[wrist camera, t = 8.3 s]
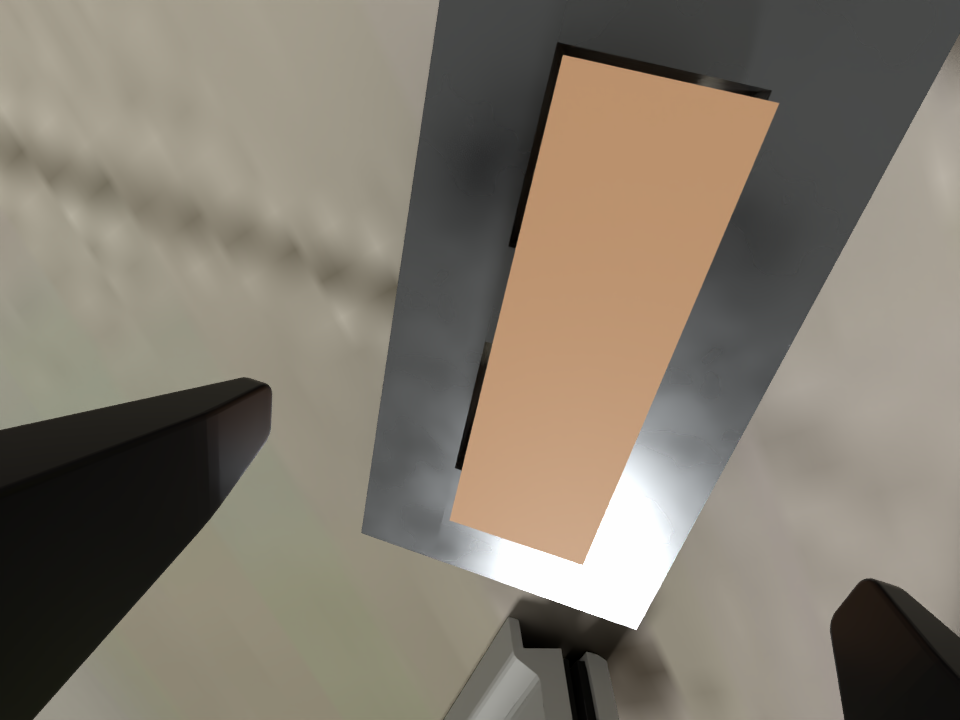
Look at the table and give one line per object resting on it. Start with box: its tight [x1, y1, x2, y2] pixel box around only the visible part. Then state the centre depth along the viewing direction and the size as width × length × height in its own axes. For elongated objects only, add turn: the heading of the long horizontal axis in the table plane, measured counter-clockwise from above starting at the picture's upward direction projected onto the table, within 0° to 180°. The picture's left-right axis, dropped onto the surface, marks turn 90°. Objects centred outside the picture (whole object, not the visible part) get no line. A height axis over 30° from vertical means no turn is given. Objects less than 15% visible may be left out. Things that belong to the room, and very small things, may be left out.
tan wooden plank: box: [450, 55, 779, 565], centre depth 15 cm, size 4×12×6 cm, turn 168°
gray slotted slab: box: [361, 0, 960, 630], centre depth 16 cm, size 11×22×3 cm, turn 168°
